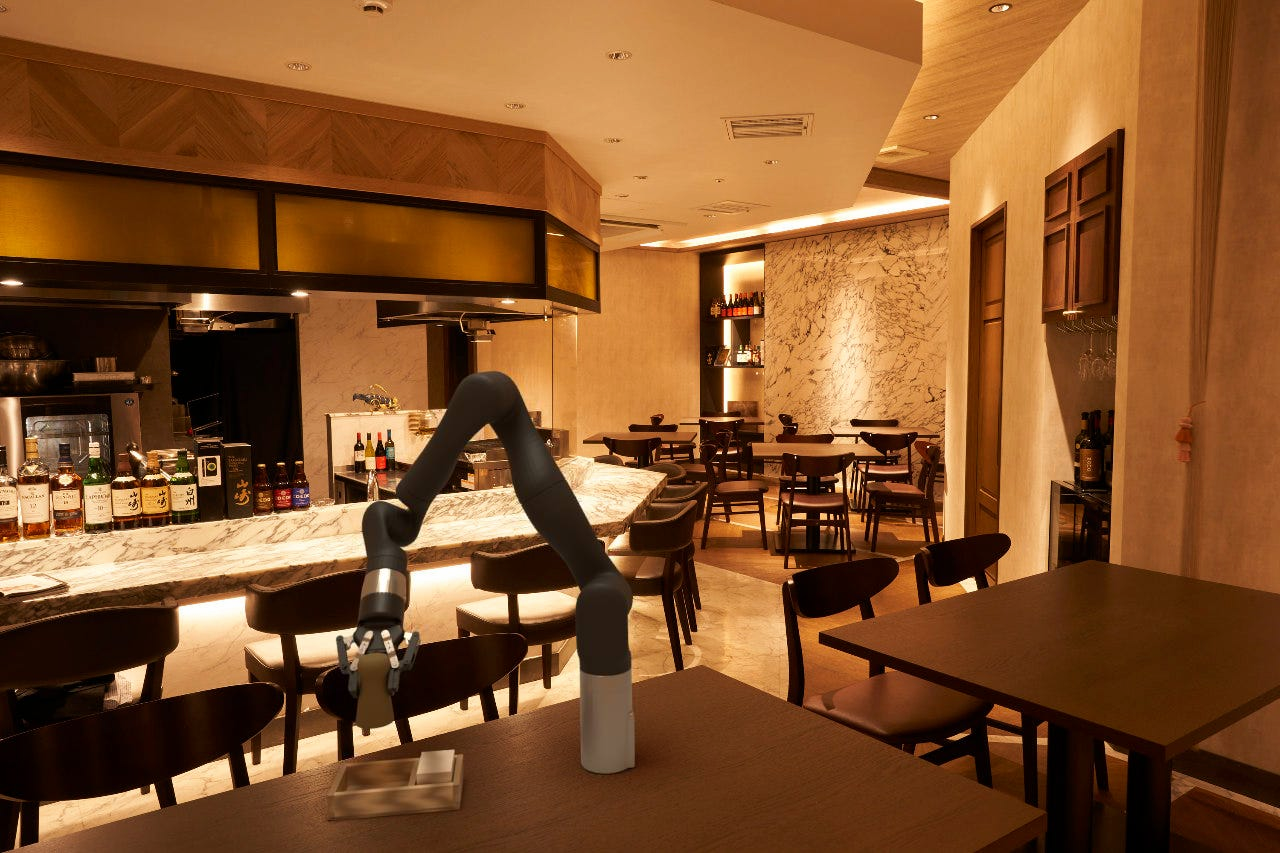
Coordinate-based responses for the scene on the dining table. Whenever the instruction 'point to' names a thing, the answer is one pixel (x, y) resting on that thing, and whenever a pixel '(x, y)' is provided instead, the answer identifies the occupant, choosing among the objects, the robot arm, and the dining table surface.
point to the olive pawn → (374, 692)
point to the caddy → (397, 786)
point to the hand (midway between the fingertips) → (372, 694)
